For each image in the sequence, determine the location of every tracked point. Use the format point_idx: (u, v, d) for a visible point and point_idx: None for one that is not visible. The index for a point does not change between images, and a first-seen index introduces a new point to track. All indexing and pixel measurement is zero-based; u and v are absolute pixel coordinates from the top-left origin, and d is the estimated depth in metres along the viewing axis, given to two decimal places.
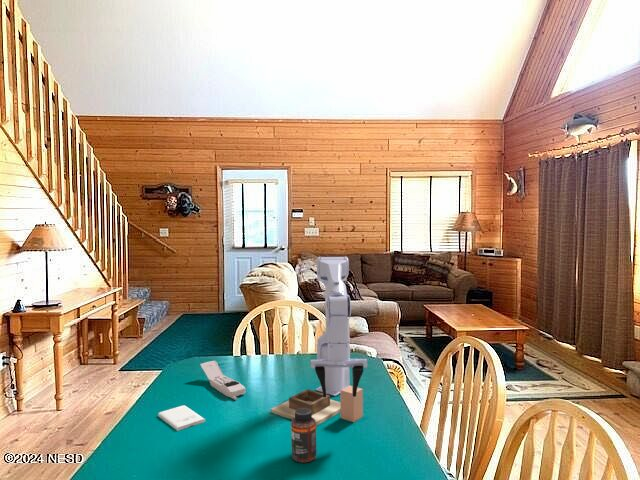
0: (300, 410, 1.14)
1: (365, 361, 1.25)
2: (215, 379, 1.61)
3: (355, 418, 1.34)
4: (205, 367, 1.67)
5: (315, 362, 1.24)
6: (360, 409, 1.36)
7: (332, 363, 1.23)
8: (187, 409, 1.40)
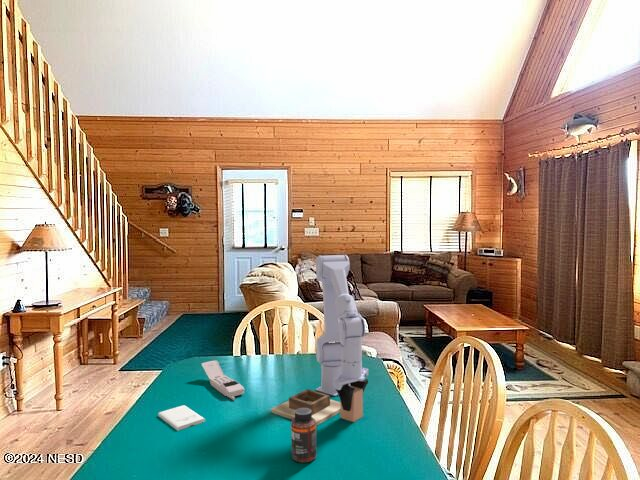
0: (300, 410, 1.14)
1: (367, 370, 1.40)
2: (215, 379, 1.61)
3: (355, 418, 1.34)
4: (206, 366, 1.67)
5: (342, 383, 1.30)
6: (360, 409, 1.36)
7: (355, 380, 1.33)
8: (187, 409, 1.40)
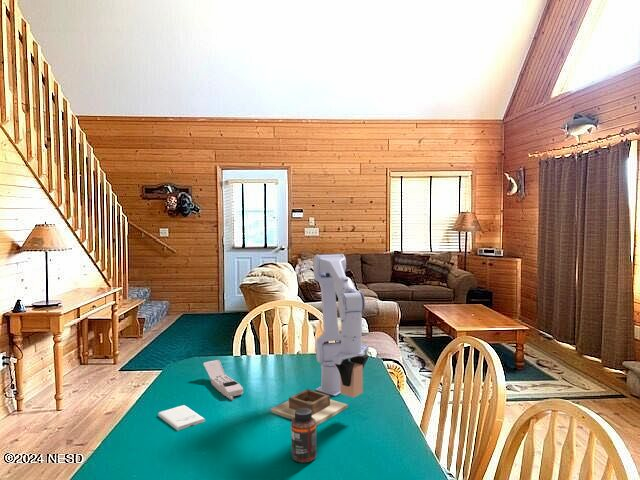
0: (300, 410, 1.14)
1: (367, 347, 1.40)
2: (216, 378, 1.62)
3: (355, 393, 1.34)
4: (208, 366, 1.68)
5: (341, 358, 1.30)
6: (360, 385, 1.35)
7: (355, 355, 1.32)
8: (187, 409, 1.40)
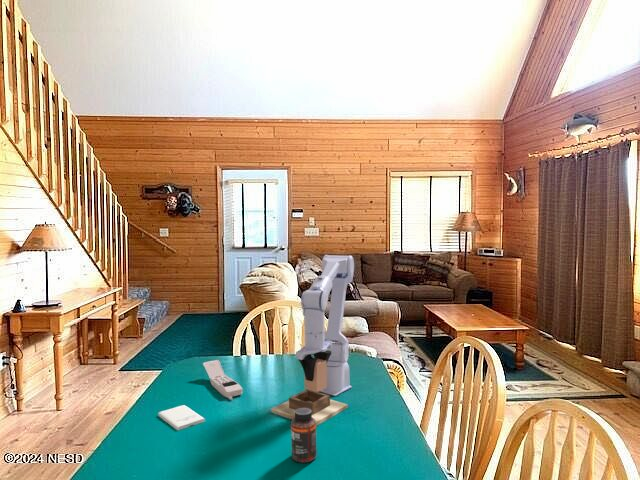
0: (300, 410, 1.14)
1: (331, 343, 1.44)
2: (215, 378, 1.62)
3: (318, 388, 1.38)
4: (207, 366, 1.68)
5: (304, 353, 1.34)
6: (324, 380, 1.40)
7: (317, 351, 1.37)
8: (187, 409, 1.40)
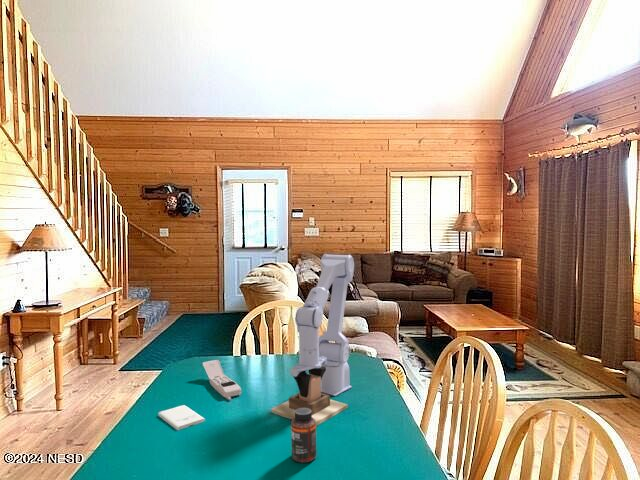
0: (300, 410, 1.14)
1: (326, 358, 1.45)
2: (214, 378, 1.62)
3: None
4: (207, 366, 1.68)
5: (298, 370, 1.35)
6: (318, 396, 1.41)
7: (312, 367, 1.38)
8: (187, 409, 1.40)
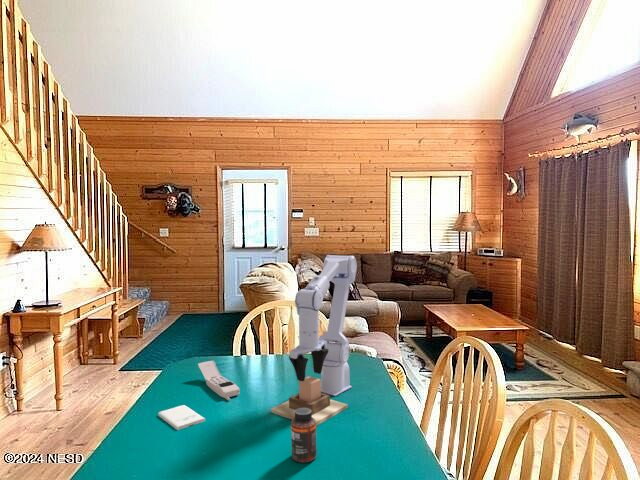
0: (300, 410, 1.14)
1: (326, 342, 1.45)
2: (211, 379, 1.61)
3: None
4: (202, 367, 1.67)
5: (298, 352, 1.35)
6: None
7: (312, 350, 1.37)
8: (187, 409, 1.41)
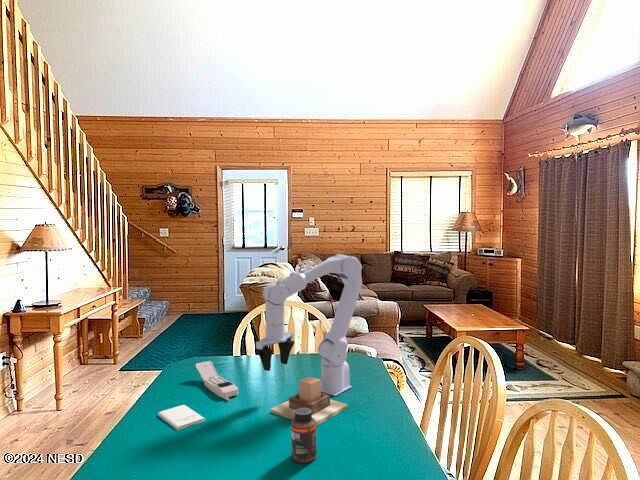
0: (300, 410, 1.14)
1: (292, 334, 1.53)
2: (209, 379, 1.61)
3: None
4: (200, 367, 1.66)
5: (263, 343, 1.42)
6: None
7: (277, 341, 1.45)
8: (187, 408, 1.41)
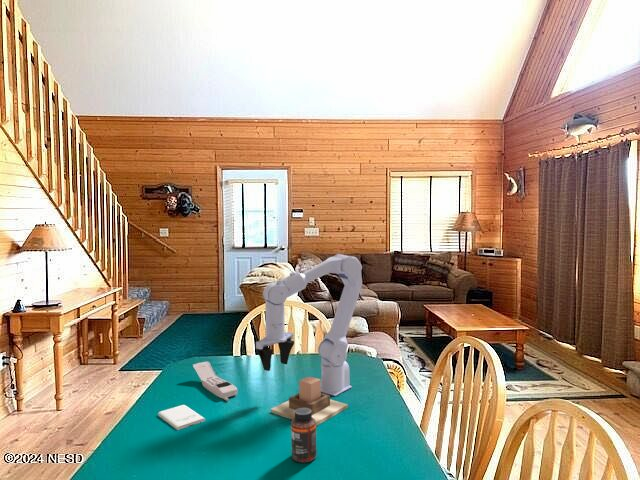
0: (300, 410, 1.14)
1: (292, 334, 1.53)
2: (207, 380, 1.60)
3: None
4: (197, 368, 1.66)
5: (263, 343, 1.42)
6: None
7: (277, 341, 1.45)
8: (187, 408, 1.41)
